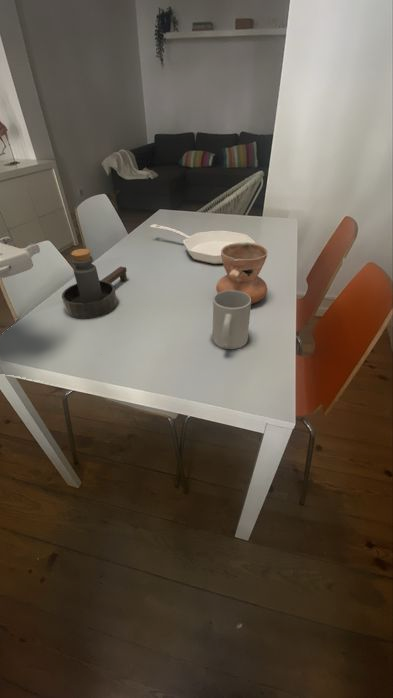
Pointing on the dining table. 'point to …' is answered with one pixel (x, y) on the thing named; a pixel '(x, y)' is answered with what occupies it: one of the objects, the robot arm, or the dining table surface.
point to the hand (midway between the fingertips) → (24, 243)
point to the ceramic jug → (243, 269)
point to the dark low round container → (89, 309)
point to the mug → (231, 319)
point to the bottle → (86, 276)
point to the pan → (209, 243)
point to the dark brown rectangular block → (116, 275)
